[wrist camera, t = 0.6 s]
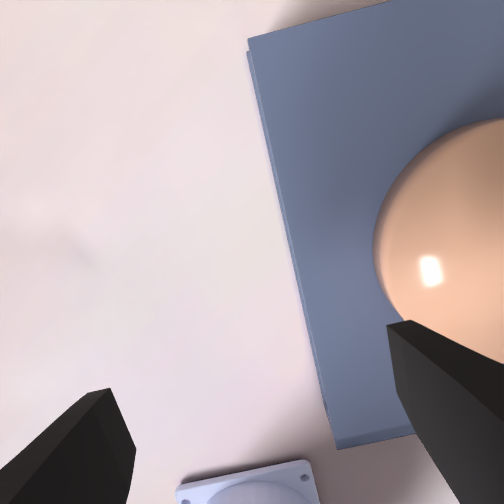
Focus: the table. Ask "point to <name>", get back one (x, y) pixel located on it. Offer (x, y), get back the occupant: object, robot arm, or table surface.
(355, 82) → the book
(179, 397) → the table surface
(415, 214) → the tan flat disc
